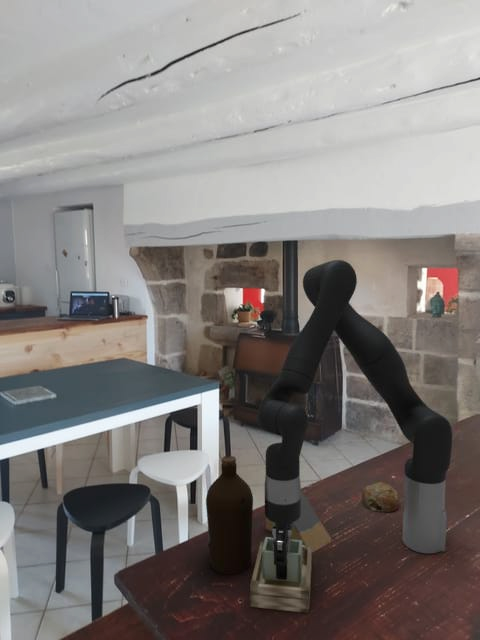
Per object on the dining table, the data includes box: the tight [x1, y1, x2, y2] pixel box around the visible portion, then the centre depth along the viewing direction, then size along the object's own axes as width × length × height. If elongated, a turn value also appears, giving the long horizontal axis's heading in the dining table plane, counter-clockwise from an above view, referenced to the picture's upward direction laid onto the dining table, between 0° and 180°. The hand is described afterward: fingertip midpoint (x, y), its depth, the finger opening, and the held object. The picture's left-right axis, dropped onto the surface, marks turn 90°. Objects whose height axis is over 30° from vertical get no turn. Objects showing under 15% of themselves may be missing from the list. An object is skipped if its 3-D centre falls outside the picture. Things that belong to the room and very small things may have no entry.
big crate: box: [249, 541, 313, 614], centre depth 106 cm, size 12×16×5 cm
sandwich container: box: [264, 474, 333, 553], centre depth 125 cm, size 9×15×15 cm, turn 42°
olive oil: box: [205, 455, 254, 576], centre depth 113 cm, size 11×11×25 cm
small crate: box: [262, 536, 302, 582], centre depth 106 cm, size 8×6×6 cm
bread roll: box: [361, 481, 399, 513], centre depth 140 cm, size 10×10×8 cm
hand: (282, 569), depth 106 cm, fingers closed on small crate, 5 cm apart
